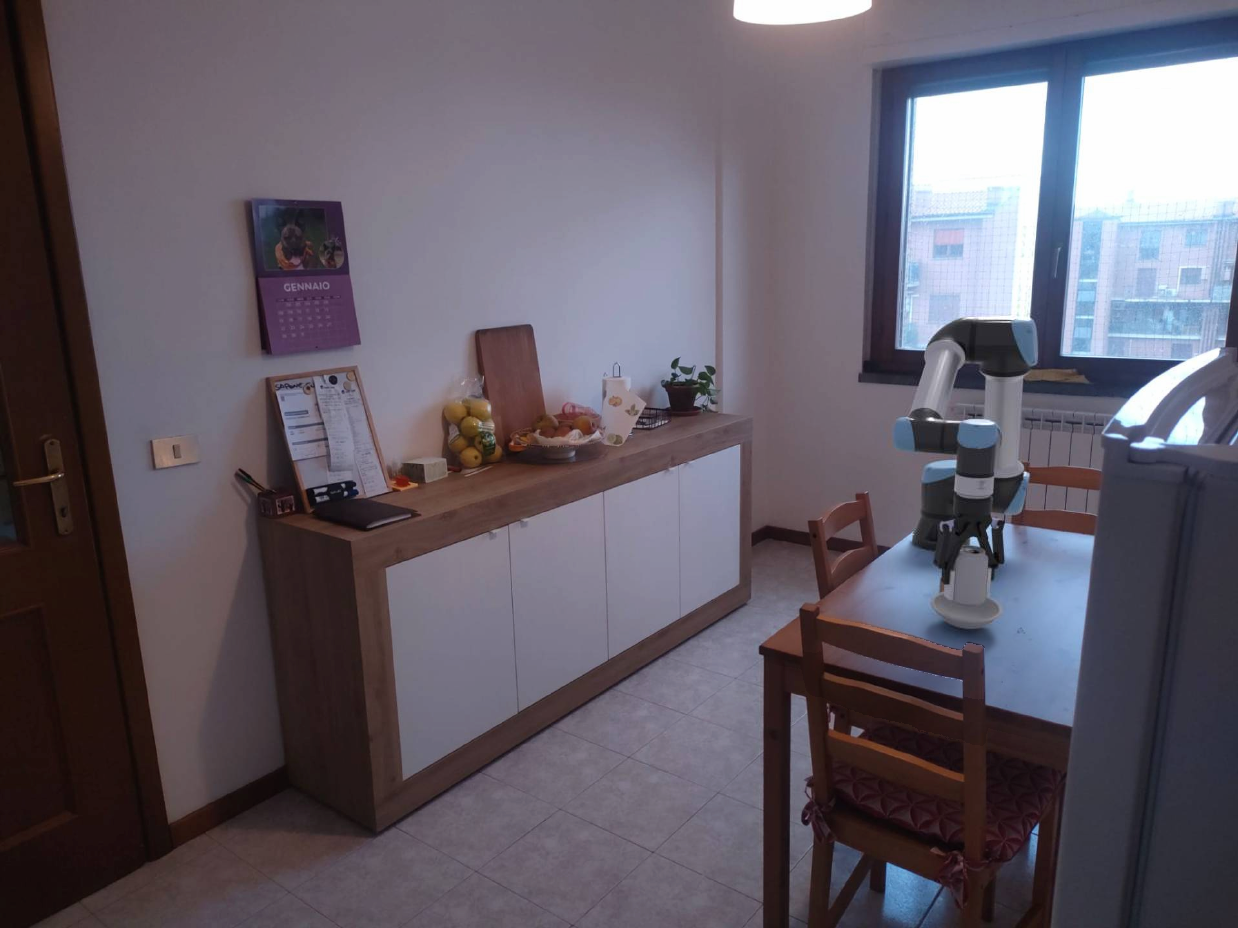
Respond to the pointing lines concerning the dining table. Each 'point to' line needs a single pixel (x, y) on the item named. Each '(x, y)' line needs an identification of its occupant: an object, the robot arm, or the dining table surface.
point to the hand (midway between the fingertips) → (966, 596)
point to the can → (970, 576)
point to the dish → (966, 612)
